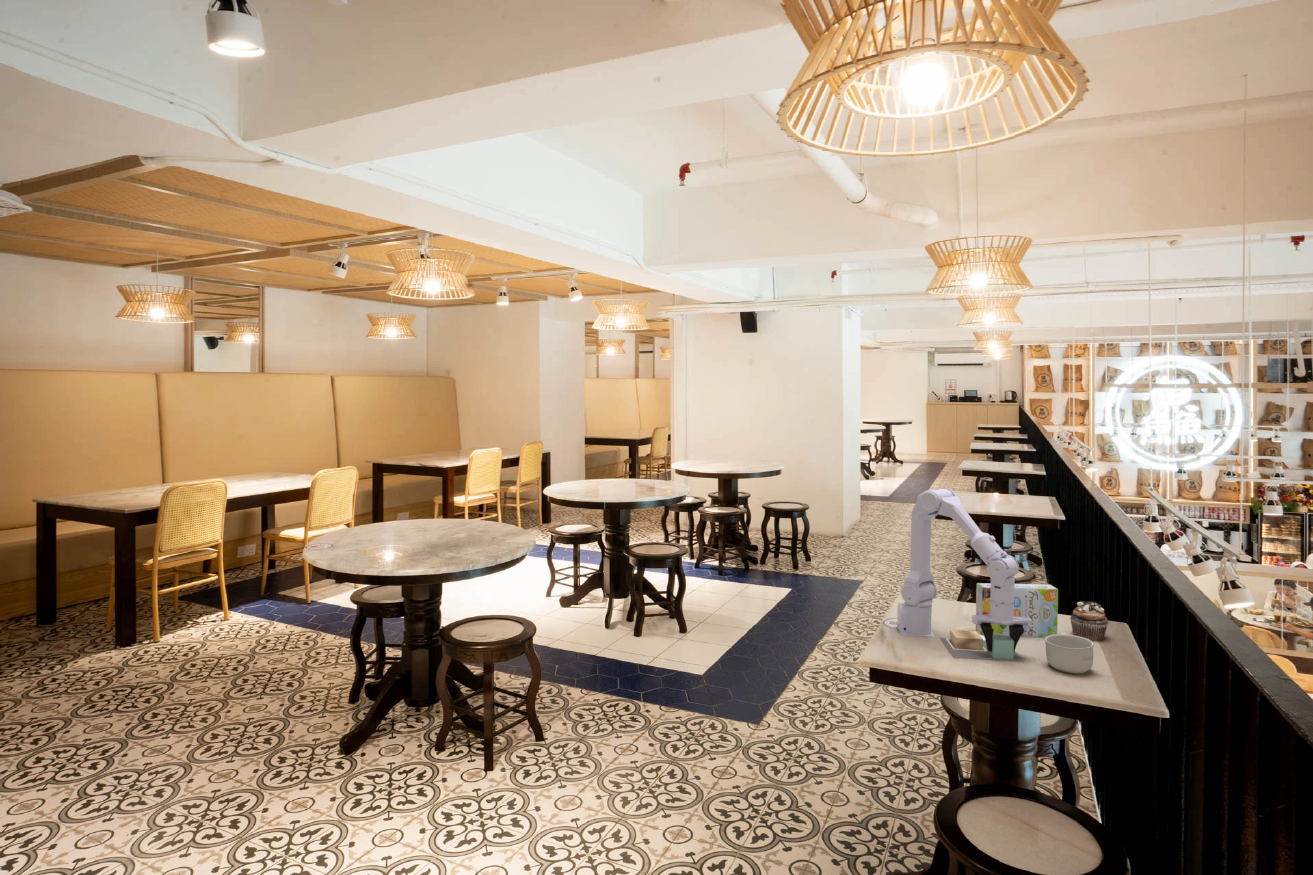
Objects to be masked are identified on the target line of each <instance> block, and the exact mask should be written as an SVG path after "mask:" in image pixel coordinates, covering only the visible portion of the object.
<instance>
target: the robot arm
mask: <svg viewBox="0 0 1313 875" xmlns="http://www.w3.org/2000/svg"><path fill="white" fill-rule="evenodd" d="M938 515H939V516H943V517H949V518H951V519H952V520H953V521H954V522H955V523H956V525H957V526H958V527H959V528H961V530H962V531H963V532H964V533H965V534H966V535H967V536H968V538H970V546H971V548H972V549H973V550H974V552H976V554H977V555H978V556H979V558H980V559H981V560H982V561H983V563H985V565H986V572H987V575H989V577H990V583H991V596H990V614H988V615H976V614H972V615H971V623H972V624H973V625H976V624H980V627H981V629H982V631H983V634H984V635H983V636H984V640H986V644H987V650H988V651H989V652H992V637H993V631H994V629H993V628H992V626H991V624H997V625H1009V634H1010V637H1011V638H1012V639H1013V640H1014V652H1016V647H1017V645H1018V643H1019V641H1020V638H1021V635H1022V634H1023V633H1024V628H1023V626H1027V627H1032V620H1031V619H1030V618H1024V617H1017V616H1014V587H1015V586H1014V584H1016V583H1015V581H1016V580H1015V579H1016V577H1015V576H1016V575H1017V574H1019V571H1020V565H1019V563H1018V560H1017V559H1016V557H1014V556H1012V555H1009V554H1008V553H1007V551H1004V550H1003V548H1002V547H1000V545H999V544H998V543H997V542H996V538H995V536H994V535H990V534H989V533H987V532H983V531H982V530H981V529H980V528H979V526H978V525H977V523H975V521H974V520H973V518H972V517H971V516H970V514H969V513H968V511H967V510H966V509H965V507H964V506H963V504H962V501H961V499H960V497H958V496H957V495H956V493H955V492H954V491H953V490H952V489H951V488H947V487H943V488H939V489H932V490H931V489H927V490H924V491H923V492H921V493H920V494H918V495H917V498H916V502H915V505H914V507H913V508H912V510H911V519H910V520H911V522H910V523H911V524H910V532H911V533H910V568H909V572H908V573H907V574H906V576H905V577H904V582H903V585H902V587H901V589H900V592H901V597H902V600H904V602H899V603H898V604H897V614H896V615H897V621H896V628H897V630H898V632H899V634H900V635H903V636H918V637H919V636H920V637H921V636H922V637H935V634H934V633H933V631H932V615H933V614H932V613H933V612H932V611H933V609H932V607H933V600H934V599H935V598H936V597H937V594H938V588H937V586H936V584H935V576H934V575H933V574H932V573H931V545H932V543H931V541H932V540H931V538H932V534H931V533H932V531H931V530H932V520H933V519H934V518H935V517H936V516H938Z"/></svg>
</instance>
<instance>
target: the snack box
mask: <svg viewBox="0 0 1313 875" xmlns="http://www.w3.org/2000/svg"><path fill="white" fill-rule="evenodd" d="M1014 586H1015V587H1014V616H1017V617H1024V618H1030V619H1031V620H1032V627H1027V626H1023V628H1024V633H1023V634H1022V635H1021V637H1025V638H1027V637H1028V638H1046V637H1047V636H1050V635H1056V634H1058V622H1059V621H1058V619H1059V618H1058V616H1059V615H1058V610H1059V589H1058V587H1057V588H1056V587H1055V586H1053V585H1052V584H1044V583H1043V584H1040V583H1039V584H1038V583H1037V584H1036V583H1032V584H1031V583H1029V584H1028V583H1015V584H1014ZM975 588H976V589H975V590H976V591H975V594H976V595H975V598H976V599H975V605H976V606H975V615H988V614H990V596H991V582H990V583H988V582H987V583H986V582H985V583H981V582H977V583H976V587H975ZM991 626H992V628H993V629H994V631H993V634H1004V635H1009V636H1010V634H1009V625H997V624H991ZM975 631H976V632H977V633H978V634H979V635H980V636H984V634H983V631H982V629H981V627H980V624H975ZM1021 637H1020V638H1021Z"/></svg>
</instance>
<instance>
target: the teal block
mask: <svg viewBox="0 0 1313 875" xmlns="http://www.w3.org/2000/svg"><path fill="white" fill-rule="evenodd" d="M988 652H989V651H988ZM989 654H990V655H991V656H992V657H993V658H998V659H1013V658H1014V640H1013V639H1012V638H1011V637H1010V636H1009V635H1004V634H993V637H992V652H989Z"/></svg>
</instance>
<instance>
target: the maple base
mask: <svg viewBox="0 0 1313 875" xmlns="http://www.w3.org/2000/svg"><path fill="white" fill-rule="evenodd" d="M949 630H950V631H949V638H950V641H951V642H952V644H953V645H954V646H955V648H956V649H973V650H983V640H984V639H983V637H982V635H981V634H980V633H979V632H978V631H977V630H966V629H965V630H962V629H961V630H960V629H949Z"/></svg>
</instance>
